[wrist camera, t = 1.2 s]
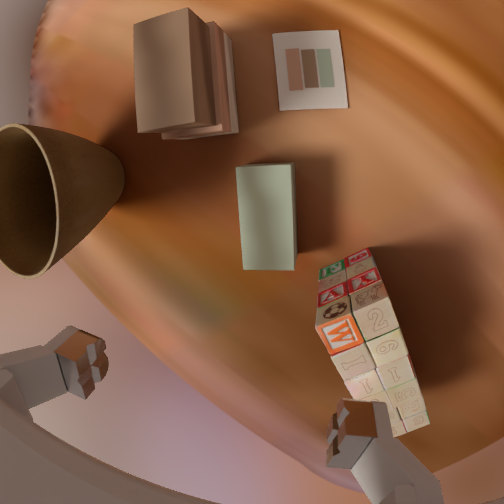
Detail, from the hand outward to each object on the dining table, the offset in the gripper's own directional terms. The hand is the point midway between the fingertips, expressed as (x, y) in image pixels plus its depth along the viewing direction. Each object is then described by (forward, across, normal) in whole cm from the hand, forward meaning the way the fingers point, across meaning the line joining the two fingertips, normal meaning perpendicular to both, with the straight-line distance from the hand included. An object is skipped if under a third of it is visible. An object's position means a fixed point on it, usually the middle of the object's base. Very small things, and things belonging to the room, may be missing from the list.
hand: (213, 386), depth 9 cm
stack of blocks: (+26, -14, +12) cm, 32 cm away
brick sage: (+26, +1, -1) cm, 26 cm away
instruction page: (+26, 0, -16) cm, 30 cm away
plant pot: (+27, +23, -1) cm, 35 cm away
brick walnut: (+20, +10, -13) cm, 26 cm away
